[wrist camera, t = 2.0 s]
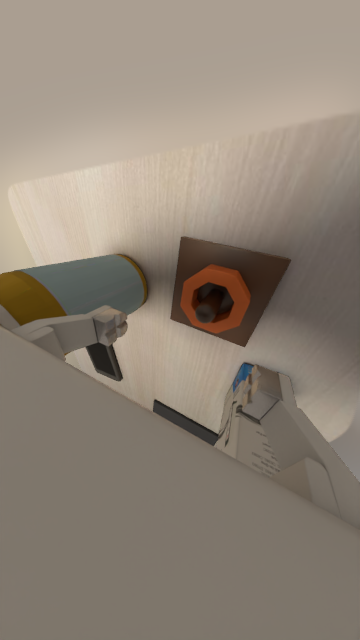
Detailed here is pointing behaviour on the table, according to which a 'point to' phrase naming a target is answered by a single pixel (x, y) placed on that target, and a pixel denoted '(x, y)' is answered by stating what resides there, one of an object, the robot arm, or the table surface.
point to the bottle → (70, 289)
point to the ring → (222, 278)
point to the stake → (215, 299)
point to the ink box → (245, 431)
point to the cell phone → (104, 360)
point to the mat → (185, 423)
